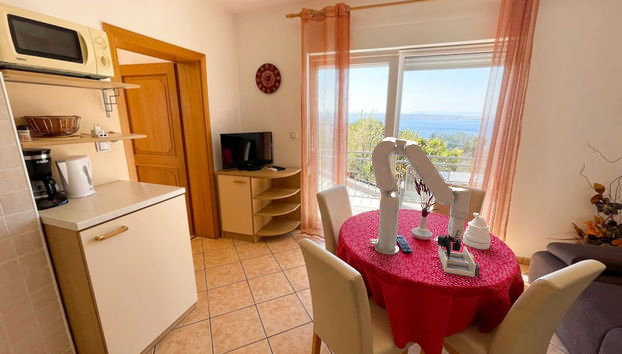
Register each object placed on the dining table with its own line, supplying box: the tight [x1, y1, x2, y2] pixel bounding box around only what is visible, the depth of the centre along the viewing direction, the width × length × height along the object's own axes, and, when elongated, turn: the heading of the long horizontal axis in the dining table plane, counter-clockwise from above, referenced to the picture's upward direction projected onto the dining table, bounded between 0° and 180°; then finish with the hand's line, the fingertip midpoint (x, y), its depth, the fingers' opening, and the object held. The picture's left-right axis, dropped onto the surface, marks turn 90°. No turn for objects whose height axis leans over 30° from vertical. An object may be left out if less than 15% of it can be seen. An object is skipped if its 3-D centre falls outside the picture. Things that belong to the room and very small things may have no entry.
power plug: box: [433, 234, 452, 259], centre depth 126 cm, size 6×8×12 cm
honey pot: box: [462, 212, 492, 250], centre depth 139 cm, size 13×13×18 cm
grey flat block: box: [474, 261, 481, 277], centre depth 114 cm, size 1×5×4 cm, turn 162°
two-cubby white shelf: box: [437, 245, 476, 278], centre depth 120 cm, size 12×18×6 cm, turn 162°
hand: (453, 245), depth 123 cm, fingers open, 9 cm apart
